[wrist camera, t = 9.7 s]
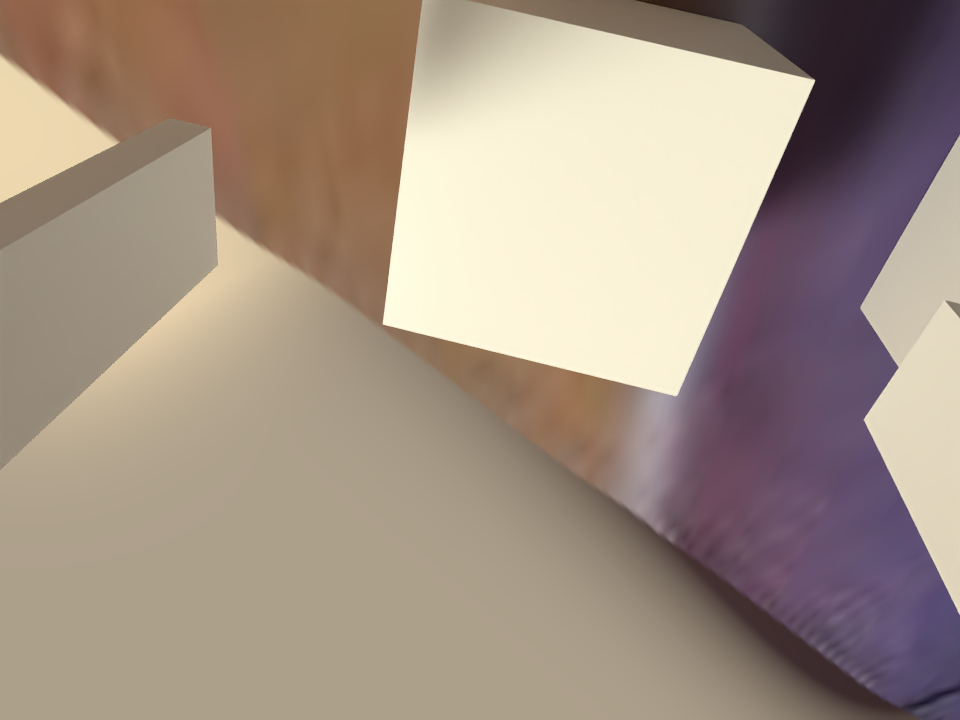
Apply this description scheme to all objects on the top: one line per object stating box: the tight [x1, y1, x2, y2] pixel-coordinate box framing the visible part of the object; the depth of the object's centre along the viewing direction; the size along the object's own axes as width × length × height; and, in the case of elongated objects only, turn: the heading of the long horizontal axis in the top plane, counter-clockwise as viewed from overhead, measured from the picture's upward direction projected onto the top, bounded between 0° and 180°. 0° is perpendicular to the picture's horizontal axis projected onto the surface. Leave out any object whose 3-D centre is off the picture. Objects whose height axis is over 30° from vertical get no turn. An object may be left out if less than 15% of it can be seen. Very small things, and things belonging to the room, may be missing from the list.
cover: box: [383, 0, 815, 396], centre depth 20 cm, size 8×8×9 cm
